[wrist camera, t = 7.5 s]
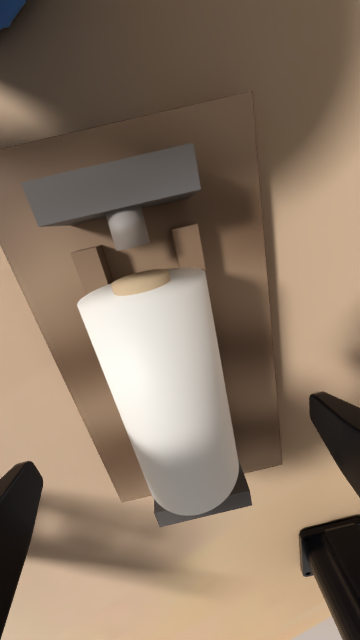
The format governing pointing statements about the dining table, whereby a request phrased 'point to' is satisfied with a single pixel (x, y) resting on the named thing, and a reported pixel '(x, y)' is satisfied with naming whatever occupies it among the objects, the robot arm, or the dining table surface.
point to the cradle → (149, 259)
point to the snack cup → (9, 11)
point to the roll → (167, 383)
